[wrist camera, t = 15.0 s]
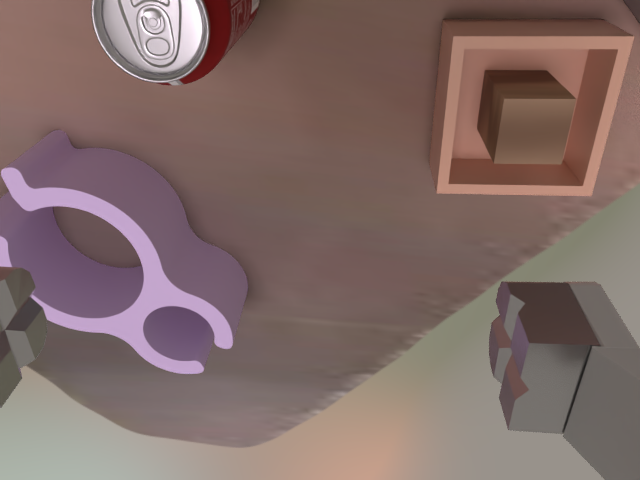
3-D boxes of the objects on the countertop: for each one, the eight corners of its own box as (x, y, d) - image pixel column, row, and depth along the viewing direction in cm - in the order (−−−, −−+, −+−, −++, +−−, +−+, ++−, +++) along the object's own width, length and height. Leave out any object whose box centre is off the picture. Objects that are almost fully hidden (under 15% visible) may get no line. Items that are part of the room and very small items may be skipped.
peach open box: (442, 19, 36) (453, 36, 32) (602, 19, 36) (634, 36, 31) (428, 162, 42) (436, 193, 37) (567, 164, 41) (591, 195, 37)
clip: (278, 263, 47) (266, 316, 42) (193, 341, 53) (171, 398, 47) (71, 103, 41) (22, 139, 35) (-3, 210, 46) (-56, 256, 41)
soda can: (256, -76, 34) (212, -62, 24) (266, 40, 38) (230, 95, 27) (148, -72, 35) (59, -56, 24) (167, 42, 38) (97, 97, 28)
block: (484, 70, 37) (504, 98, 32) (547, 70, 37) (576, 98, 32) (476, 128, 39) (493, 163, 34) (535, 128, 39) (561, 164, 34)
